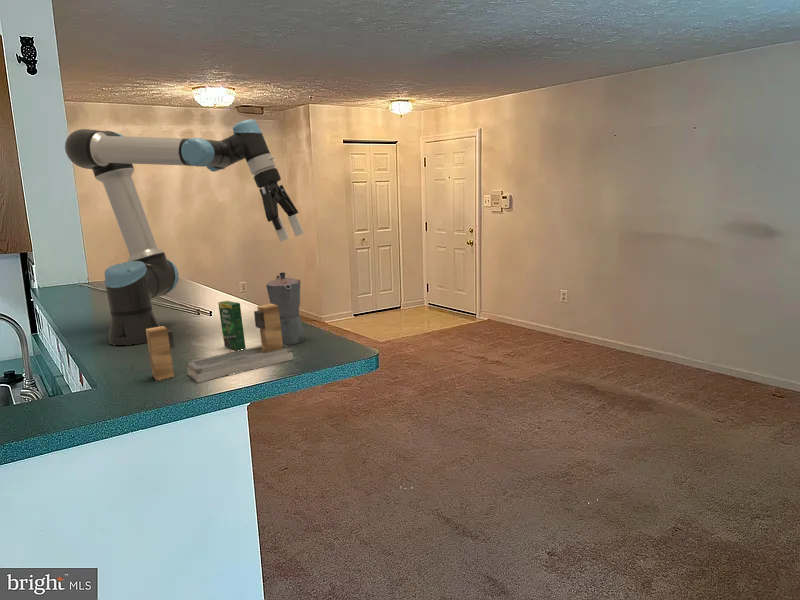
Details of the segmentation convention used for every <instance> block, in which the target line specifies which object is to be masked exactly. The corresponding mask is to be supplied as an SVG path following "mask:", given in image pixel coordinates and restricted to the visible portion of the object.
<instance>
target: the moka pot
mask: <svg viewBox="0 0 800 600" xmlns="http://www.w3.org/2000/svg"><path fill="white" fill-rule="evenodd" d="M265 288H266V289H267V291H266V292H267V294H268V299H269V304H275V305H278V306H279V315H280V324H281V334H282V343H283V344H285V345H287V346H290V345H296V344H299V343H300V344H301V342H303V341H304V340H306V336H305V330H304V328H303V322H302V320H301V319H302V318H301V315H300V306H301V279H296V278H292V277H286V272H279V275H276V278H275V279H273V280H270V281H268V282H267V283H266V287H265Z"/></svg>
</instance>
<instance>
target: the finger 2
mask: <svg viewBox="0 0 800 600" xmlns="http://www.w3.org/2000/svg"><path fill="white" fill-rule="evenodd" d="M256 306H257V307H256V308H257V310H254V311H253V317H254V324H255V327H256V328H258V329H259V333H260V342H261V345H262V352H268V351H273V350H277V349H281V348H283V343H282V334H281V324H280V315H279V306H278V305H275V304H271V303H268V304H263V305H256Z"/></svg>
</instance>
